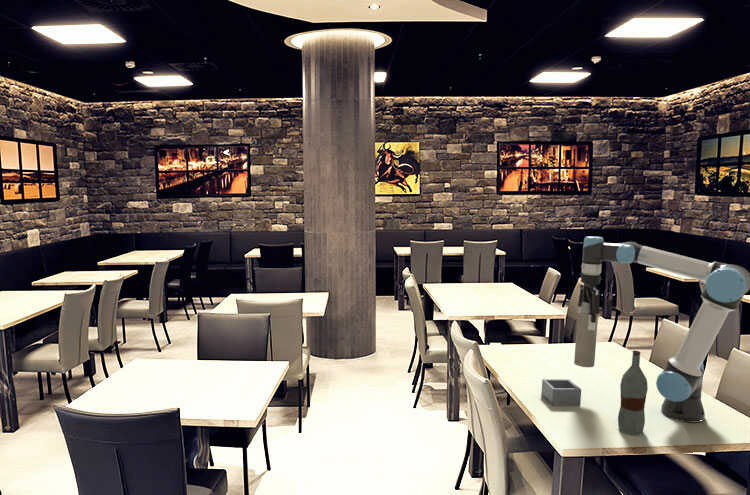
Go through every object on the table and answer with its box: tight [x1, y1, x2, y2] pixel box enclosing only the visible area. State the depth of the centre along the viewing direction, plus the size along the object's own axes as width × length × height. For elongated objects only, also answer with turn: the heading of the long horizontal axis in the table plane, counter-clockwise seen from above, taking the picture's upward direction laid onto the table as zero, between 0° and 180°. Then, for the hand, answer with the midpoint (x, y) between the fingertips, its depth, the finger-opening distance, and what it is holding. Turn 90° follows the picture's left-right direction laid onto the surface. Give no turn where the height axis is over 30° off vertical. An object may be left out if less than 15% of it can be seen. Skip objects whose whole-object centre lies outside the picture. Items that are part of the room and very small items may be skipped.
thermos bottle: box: [573, 299, 599, 368], centre depth 229 cm, size 8×8×28 cm
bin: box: [541, 378, 582, 407], centre depth 230 cm, size 12×12×7 cm
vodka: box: [617, 350, 649, 436], centre depth 201 cm, size 9×9×30 cm
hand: (586, 327), depth 228 cm, fingers closed on thermos bottle, 8 cm apart
